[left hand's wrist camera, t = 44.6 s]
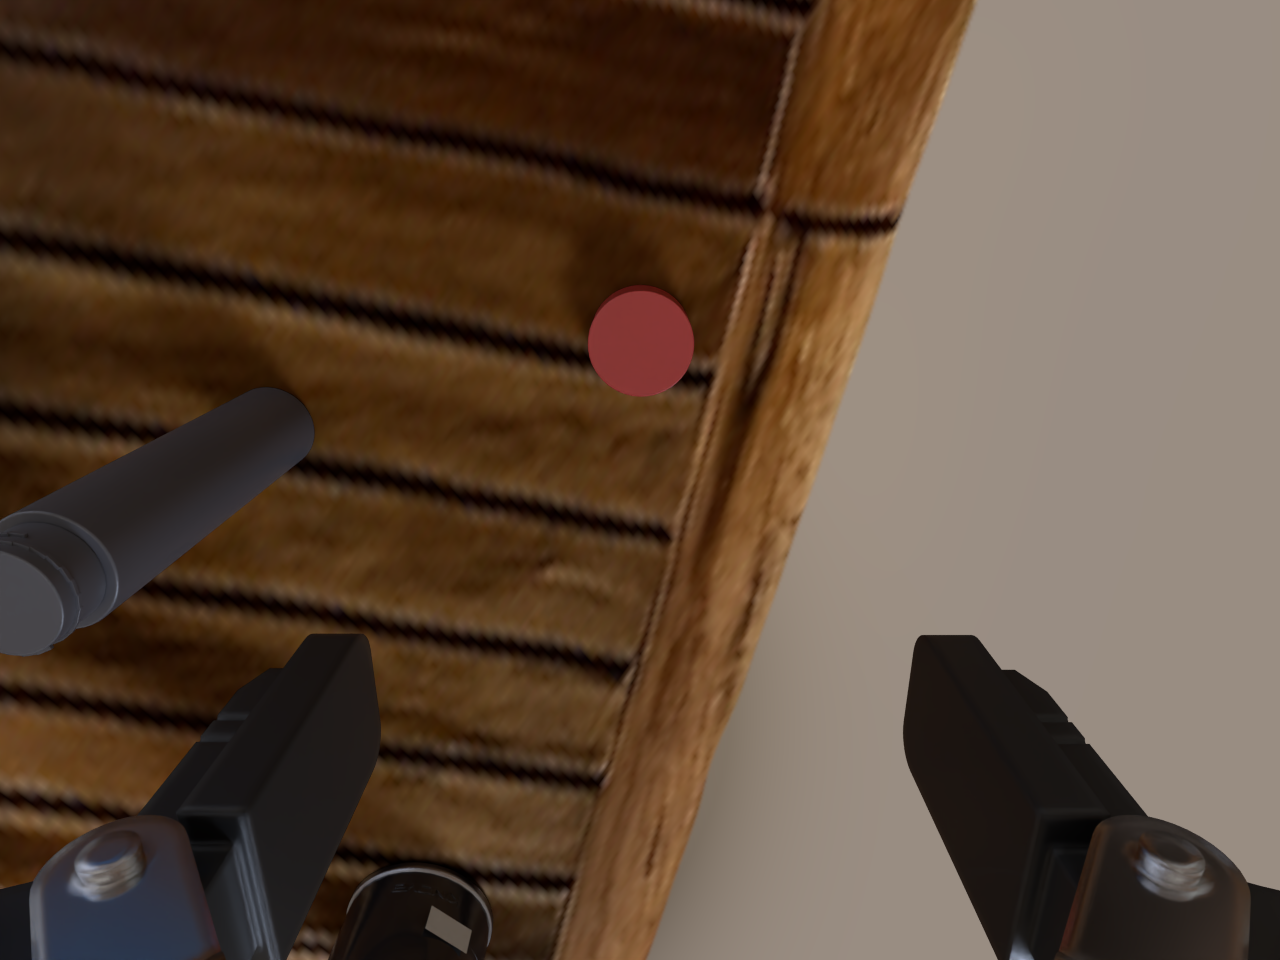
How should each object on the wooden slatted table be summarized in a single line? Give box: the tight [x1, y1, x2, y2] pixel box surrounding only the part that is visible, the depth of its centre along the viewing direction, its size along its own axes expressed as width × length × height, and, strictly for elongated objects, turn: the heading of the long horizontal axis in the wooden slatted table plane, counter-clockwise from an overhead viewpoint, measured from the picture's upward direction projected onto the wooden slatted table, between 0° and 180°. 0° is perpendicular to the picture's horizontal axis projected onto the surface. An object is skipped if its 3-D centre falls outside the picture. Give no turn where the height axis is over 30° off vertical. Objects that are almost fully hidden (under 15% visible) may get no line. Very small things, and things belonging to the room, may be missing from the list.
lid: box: [588, 285, 694, 396], centre depth 38 cm, size 5×5×2 cm
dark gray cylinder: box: [0, 387, 314, 657], centre depth 32 cm, size 4×4×18 cm
